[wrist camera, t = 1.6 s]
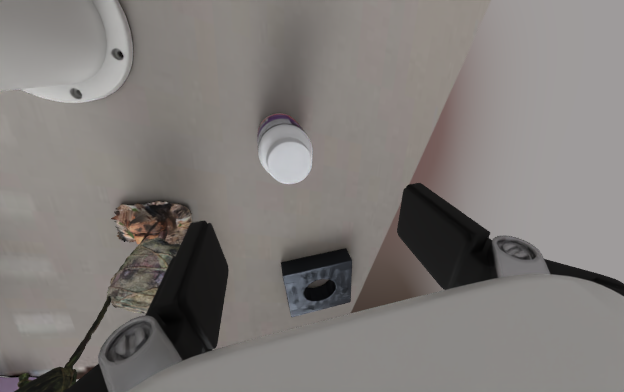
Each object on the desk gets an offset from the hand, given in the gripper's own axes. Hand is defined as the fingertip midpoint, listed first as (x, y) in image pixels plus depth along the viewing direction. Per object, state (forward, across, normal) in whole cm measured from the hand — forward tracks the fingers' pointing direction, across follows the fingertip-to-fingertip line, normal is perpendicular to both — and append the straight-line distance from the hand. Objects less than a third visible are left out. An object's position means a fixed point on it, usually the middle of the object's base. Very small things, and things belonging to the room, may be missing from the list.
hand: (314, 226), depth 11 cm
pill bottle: (+20, 0, 0) cm, 20 cm away
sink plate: (+20, -2, +28) cm, 35 cm away
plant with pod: (+19, +17, +10) cm, 28 cm away
